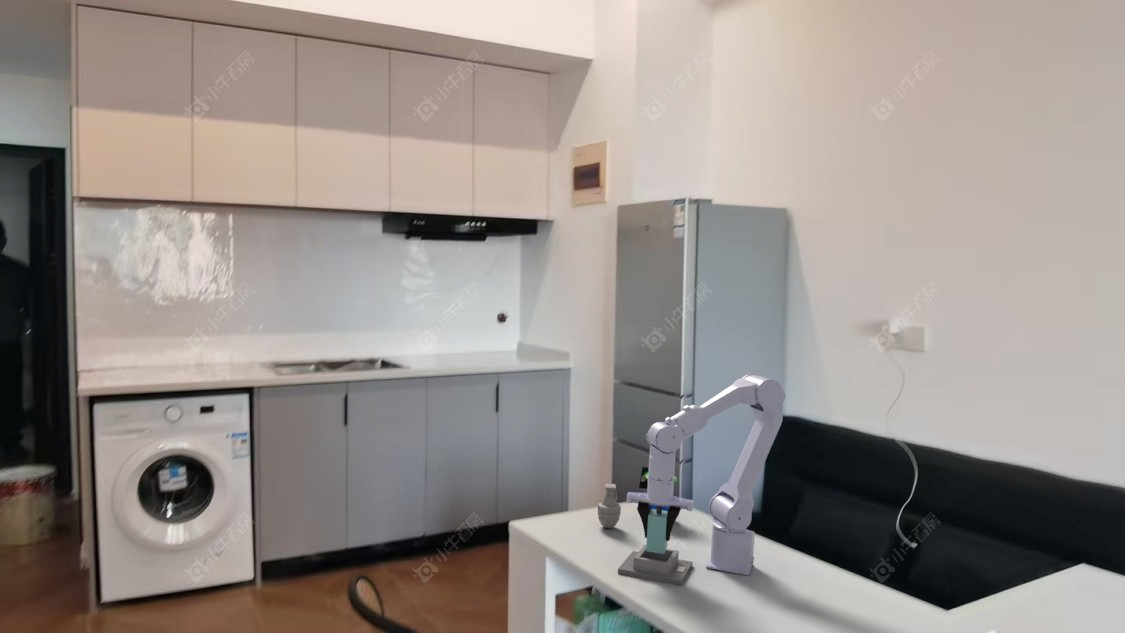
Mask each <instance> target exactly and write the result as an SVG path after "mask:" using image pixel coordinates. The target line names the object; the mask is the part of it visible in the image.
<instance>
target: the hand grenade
mask: <svg viewBox="0 0 1125 633" xmlns="http://www.w3.org/2000/svg"><path fill="white" fill-rule="evenodd" d="M604 488H605V495H604V497H603V499H602V501H601V502H598V504H597V516H598V521H599V523H600V525H601V526H602V527H604V528H606V529H612V528H614V527H615V526H617V524H618V522H619V520H620V518H621V512H622V509H621V508H622V506H621V504H620V503H618V500H619V499H618V493H617V485H616V483H605V484H604Z"/></svg>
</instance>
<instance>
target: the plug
mask: <svg viewBox="0 0 1125 633" xmlns="http://www.w3.org/2000/svg"><path fill="white" fill-rule="evenodd" d="M667 512H668V511H663V510H662V506H657V509H651V511H650V513H649V515H648V528H647V538H646V544H645V545H646V551H648V552H655V553H661V554H664V553H665V551H666V549H668V542H669V541H666V532H667Z"/></svg>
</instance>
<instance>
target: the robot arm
mask: <svg viewBox="0 0 1125 633" xmlns="http://www.w3.org/2000/svg"><path fill="white" fill-rule="evenodd" d="M786 396H787V395H786V393H785V391H784V389H783V386H782V384H780V382H779V381H778V380H776V379H773V378H768V377H765V376H760V375H759V374H756V373H747V374H746V375H744V376H743V377H740V378H738V379H736V380H735V381H734V382H733V383H732V384H731V385H730V386H728V387H727V388H725V389H724V390H722V391H721V392H719V393H718V394H716V395H714V396H713V397H712V398H710V399H709V400H707V401H706V402H704V403H703V404H702V405H700V406H698V405H695V404H691V405H688V404H686V405H684V406H683V407H682V410H681V411H678V412H677V413H676V414H674V415H673V416H670V417H669V416H667V417H666V418H664V422H663V421H658V422H655V423H653V424H652V425H651V426H650V427H649V429H648V431H647V433H646V434H645V437H646V438H645V439H646V441H647V442H648V444H649V456H648V467H649V470H648V488H647V490H646V492H633V491H628V492H627V494H626V501H625V502H626V503H627V504H628V503H629V504H632V503H633V504H637V508H636V510H637V513H638V514H639V517H640V521H641V523H642V527H643V531H644V532H643V533H644V538H646V539H647V528H648V515H649V513H650V511H651V505H655V506H663V507H669V509H668V512H667V532H666V541H668V542H669V541H670V539H671V535H672V530H673V528H674V524H675V522H676V520H677V519H678V516H679V515H680V513H681V510H686V511H688V512H693V509H694V500H693V499H687V498H683V497H679V496H675V495H674V488H675V487H674V485H675V483H674V476H675V470H676V454H677V453H676V452H677V451H678V450H679V448H680V446H681V444H682V442H683V441H685V440H687V439H689V438H690V437H691V436H694V435H695V434H697V433H699V432H701V431H702V430H703V429H705V428H706V427H707V425H708V421H709V420H710V419H712V418H713V417H716V416H718V415H719V414H721V413H723V412H725V411H727V410H730V408H733V407H734V406H737V405H738V404H740V405H749V406H750V408H751V410H752V413H753V415H754V417H755V421H754V424H753V425H752V428H751V430H750V433H749V434H748V437H747V439H746V441H745V444H744V446H743V448H742V451H741V452H740V456H739V457H738V460H737V463H736V464H735V467H734V469H733V471H732V474H731V475H730V479H728V481H727V482H726V483H724V484H722V485H721V486H720V487H719V489H718V491H717V492H716V494H715V495H713V496H712V498H711V499H710V501H709V504H708V510H709V514H710V516H711V517H712V529H711V530H712V531H711V532H712V533H711V545H710V546H711V548H710V558H709V559H708V561H707V563H706V565H705V567H706V568H707V569H711V570H712V569H713V570H718V571H723V572H727V573H732V574H733V573H734V574H737V575H743V576H750V573H751V570H752V567H753V566H754V561H755V558H754V550H755V531H753V530H749V529H747V528H748V527H749V526H750V525H751V522H752V513H753V512H752V511H753V508H754V505H755V501H754V499H753V498H754V496H753V494H752V493H753V490H754V487H755V485H756V482H757V480H758V478H759V477H760V473H761V472H762V468H763V467H764V464H765V462H766V460H767V458H768V455H769V453H770V451H771V448H772V446H773V445H774V441H775V439H776V437H777V435H778V432H779V430H780V428H781V426H782V423H783V420H784V419H783V416H784V415H783V413H784V411H783V409H784V408H783V403H784V401H785V399H786Z"/></svg>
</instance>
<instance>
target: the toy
mask: <svg viewBox="0 0 1125 633" xmlns="http://www.w3.org/2000/svg"><path fill="white" fill-rule="evenodd" d="M648 470H649V466H648V467H647V466H643V467H642V468H641V472H640V473H641V475H640V478H639V479H640V480H639V484H638V489H647V488H648ZM677 482H678V478H677V477H676V476H675V475H674V484H675V483H677ZM651 509H657V506H655V505H651ZM668 509H669V507H663V506H662V510H663V511H668Z"/></svg>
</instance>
